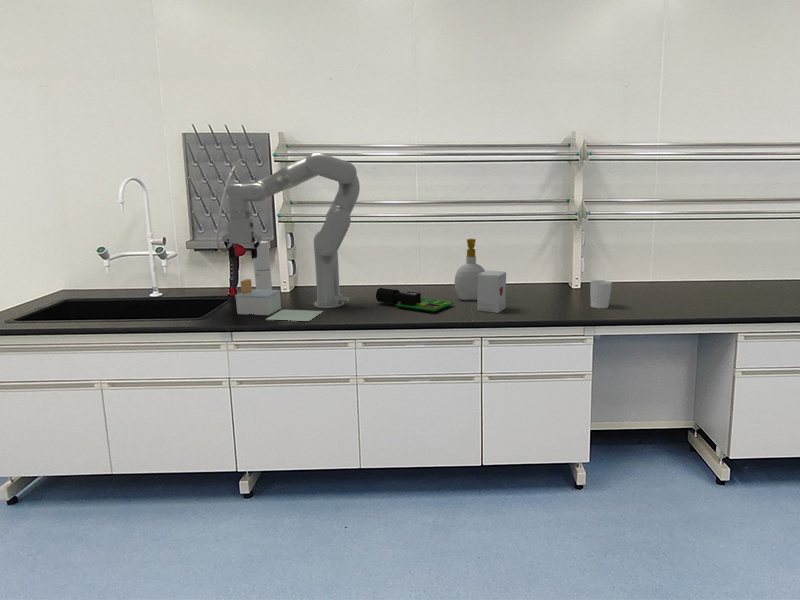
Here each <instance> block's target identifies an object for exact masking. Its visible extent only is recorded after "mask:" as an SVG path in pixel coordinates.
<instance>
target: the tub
mask: <svg viewBox="0 0 800 600" xmlns="http://www.w3.org/2000/svg"><path fill="white" fill-rule="evenodd" d="M281 303H282V301H281V292H280V293H278V294H276V295H274V296H272V297H270V298H243V297H235V304H236V305H235V306H236V313H237V315H249V314H252V315H253V314H254V315H255V316H256V315H257V316H271V315H273V314H275V313H277V312H278V311H280V310H282V304H281ZM279 309H280V310H279ZM277 310H278V311H277ZM270 314H271V315H270ZM254 315H253V316H254Z"/></svg>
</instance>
